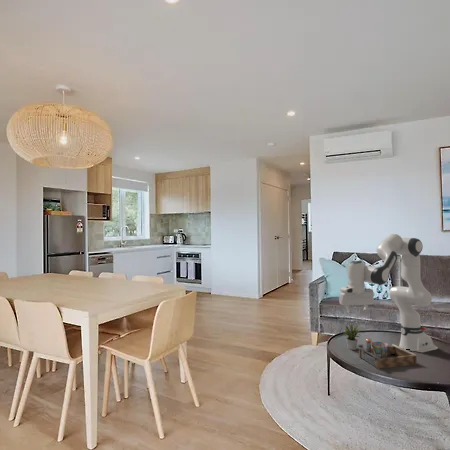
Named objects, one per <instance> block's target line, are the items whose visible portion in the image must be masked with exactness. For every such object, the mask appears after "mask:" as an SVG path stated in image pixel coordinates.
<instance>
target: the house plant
mask: <svg viewBox="0 0 450 450" xmlns="http://www.w3.org/2000/svg"><path fill="white" fill-rule="evenodd" d="M344 327H345V328H344ZM344 327H343V329H344V330H345V331H344V332H343V334H344V336H345V337H346V339H345V340H346V345H347V348H348V350H351V351H353V350H357V348H358V339H359V338H360V336H361V337H362V335H361V333H360V334H359V332H361V330H360V329H361V327H360V324H357V325H356V326H355V327H354V325H353V324H352V323H350V325H349V328H350V329H349V328H348V326H347V325H346V324H344Z"/></svg>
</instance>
